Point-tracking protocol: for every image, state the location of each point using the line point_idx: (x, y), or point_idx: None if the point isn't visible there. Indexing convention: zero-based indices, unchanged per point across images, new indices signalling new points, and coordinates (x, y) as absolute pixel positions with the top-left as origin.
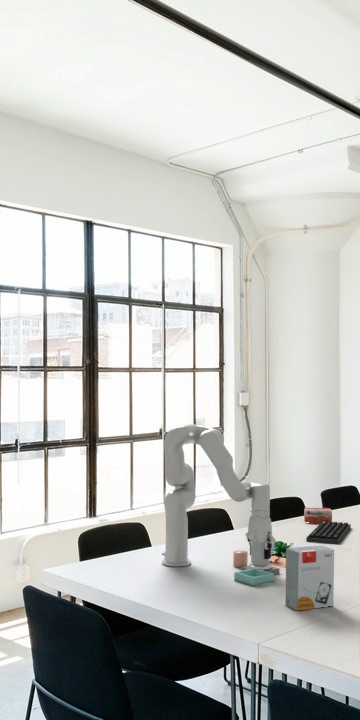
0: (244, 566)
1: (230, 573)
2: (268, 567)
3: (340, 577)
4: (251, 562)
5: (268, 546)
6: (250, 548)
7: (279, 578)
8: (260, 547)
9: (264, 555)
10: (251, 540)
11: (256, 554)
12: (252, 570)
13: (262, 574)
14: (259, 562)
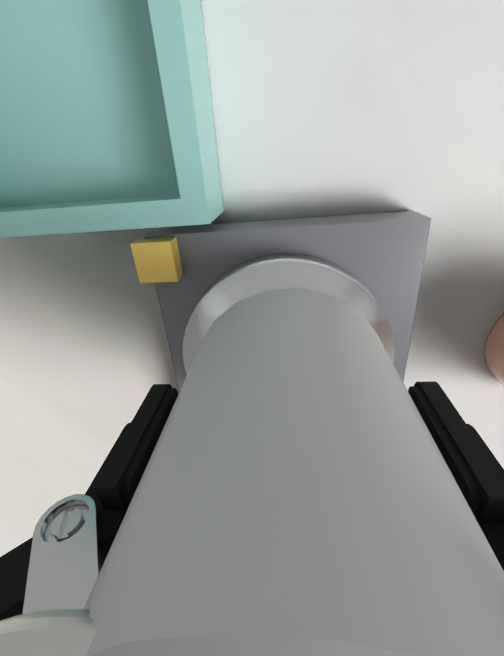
0: (496, 338)
1: (466, 50)
2: (186, 364)
3: (15, 541)
4: (336, 299)
5: (25, 568)
6: (474, 453)
7: (85, 330)
8: (146, 484)
9: (152, 411)
10: (487, 638)
11: (235, 357)
12: (178, 165)
13: (76, 203)
14: (217, 324)
